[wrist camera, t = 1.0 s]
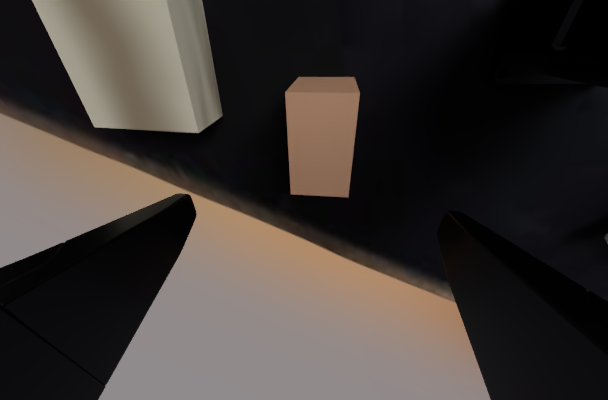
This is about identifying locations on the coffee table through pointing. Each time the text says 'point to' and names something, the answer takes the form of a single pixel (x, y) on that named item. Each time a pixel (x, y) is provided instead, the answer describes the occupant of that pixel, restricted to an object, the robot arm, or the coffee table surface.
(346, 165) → the terracotta brick
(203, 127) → the birch block
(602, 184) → the coffee table surface
